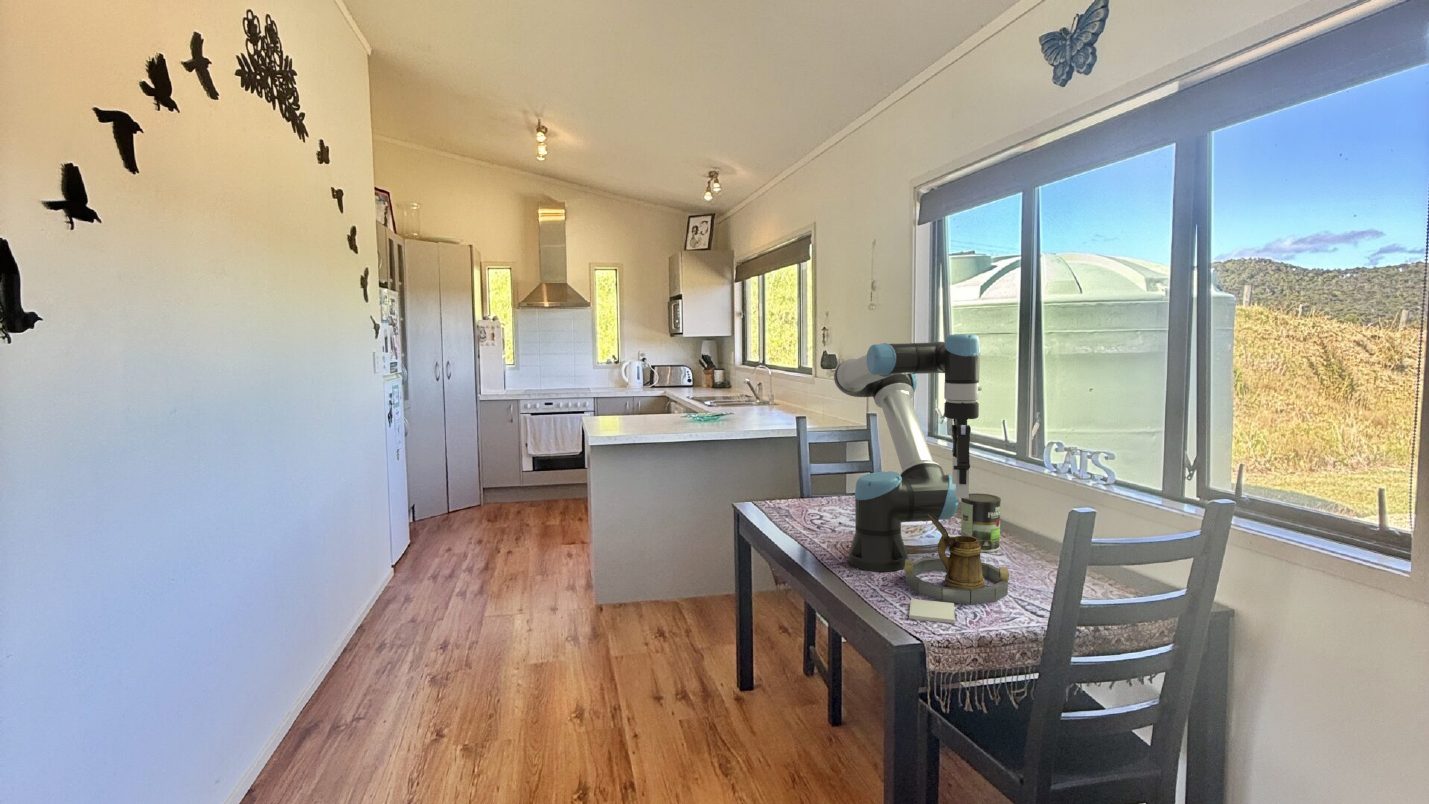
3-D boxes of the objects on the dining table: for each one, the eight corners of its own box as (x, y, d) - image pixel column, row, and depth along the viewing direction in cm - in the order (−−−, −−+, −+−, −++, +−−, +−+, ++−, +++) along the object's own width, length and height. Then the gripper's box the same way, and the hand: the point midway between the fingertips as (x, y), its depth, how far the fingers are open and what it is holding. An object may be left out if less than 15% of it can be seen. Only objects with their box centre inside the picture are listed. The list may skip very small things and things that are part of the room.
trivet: (909, 618, 142) (909, 615, 142) (911, 602, 151) (911, 599, 151) (954, 623, 140) (954, 619, 140) (953, 606, 148) (953, 603, 148)
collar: (902, 597, 154) (902, 578, 153) (907, 565, 175) (907, 548, 174) (1012, 608, 146) (1012, 588, 146) (1003, 573, 168) (1004, 555, 167)
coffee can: (1006, 546, 188) (1007, 497, 187) (988, 555, 181) (989, 503, 180) (971, 539, 196) (972, 491, 194) (953, 546, 189) (953, 497, 188)
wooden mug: (920, 579, 165) (921, 507, 163) (975, 577, 165) (976, 505, 164) (934, 593, 156) (934, 517, 154) (991, 591, 157) (993, 515, 155)
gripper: (984, 407, 144) (982, 504, 146) (974, 395, 168) (972, 479, 170) (947, 407, 146) (945, 503, 148) (942, 395, 170) (941, 478, 172)
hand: (960, 490), depth 159 cm, fingers open, 13 cm apart
